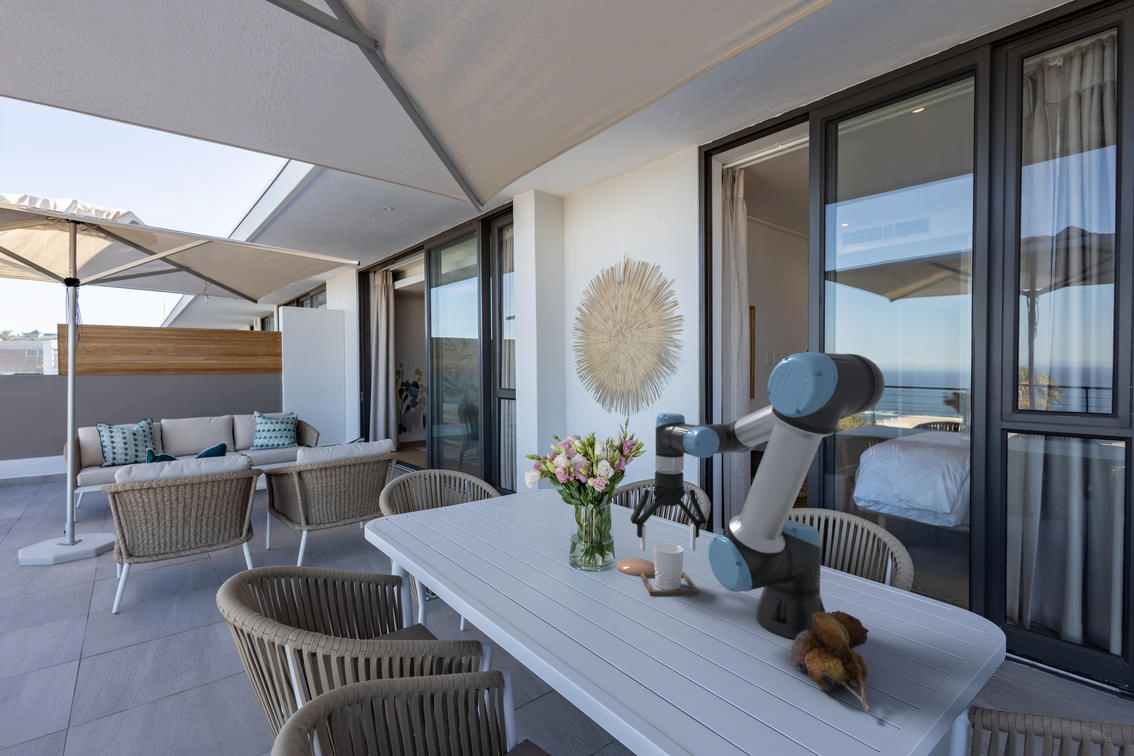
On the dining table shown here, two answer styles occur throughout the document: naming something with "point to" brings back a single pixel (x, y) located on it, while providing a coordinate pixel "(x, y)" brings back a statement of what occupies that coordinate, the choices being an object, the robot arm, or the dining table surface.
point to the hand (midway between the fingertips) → (667, 549)
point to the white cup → (668, 566)
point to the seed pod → (832, 652)
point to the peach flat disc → (635, 566)
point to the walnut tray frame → (669, 592)
